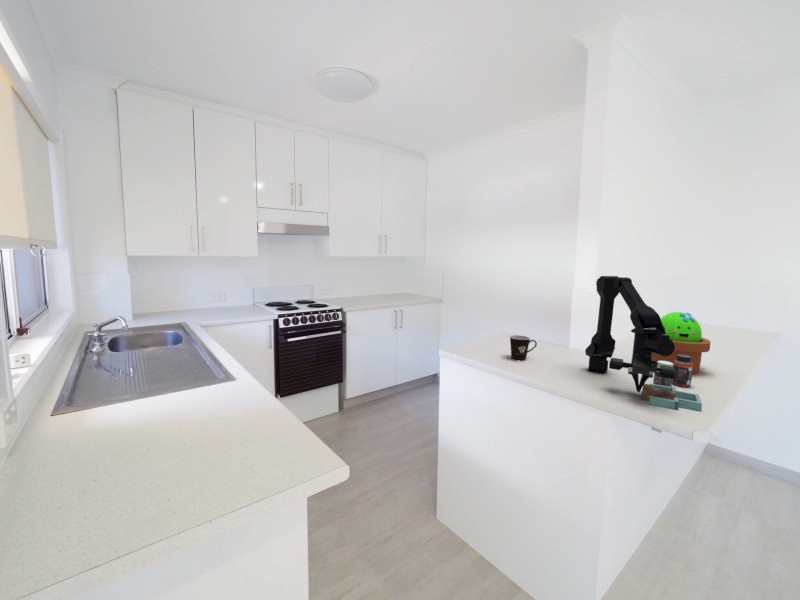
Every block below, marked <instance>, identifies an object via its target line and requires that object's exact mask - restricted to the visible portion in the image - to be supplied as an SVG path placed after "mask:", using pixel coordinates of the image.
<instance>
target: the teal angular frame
mask: <svg viewBox="0 0 800 600" xmlns="http://www.w3.org/2000/svg"><path fill="white" fill-rule="evenodd" d="M649 384H650V385H653V388H658V389H663V390H669V391H675V394H676V395H675V398H674V400H669V399H664V398H659V397H654V396H650V401H649V405H652V406H656V405H657V407H661V406H662V408H667V409H671V410H677V411H679V408H681V409H688V410H694V411H699V412H701V411H702V408H703V407H702V406H703V403H702V400H701V398H700V395H699V394H697V393H692V392H688V391H687V392H686V391H680V390H677V387H673V386H672V387H668V386H662V385H656V384H653V383H650V382H649Z"/></svg>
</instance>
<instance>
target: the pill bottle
mask: <svg viewBox="0 0 800 600" xmlns="http://www.w3.org/2000/svg"><path fill="white" fill-rule="evenodd" d="M660 365H664V366H670V367H673V363H671V362H668V361H658V366H657V367H658V368H660ZM672 383H673V379H669V378H663V377H662V376H661V375H660V373H654V374H653V382H652V384H656V385H662V386H668V387H673V384H672Z"/></svg>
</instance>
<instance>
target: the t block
mask: <svg viewBox="0 0 800 600" xmlns="http://www.w3.org/2000/svg"><path fill="white" fill-rule="evenodd" d="M641 390H642V391H641V400H642V401H646V402H647V401H648V402H650V396H654V397H659V398H664V399H669V400H674V398H675V395H676V394H675V391H669V390H663V389H658V388H653V385H650V383H644V385H643V387H642V389H641Z"/></svg>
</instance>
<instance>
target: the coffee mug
mask: <svg viewBox="0 0 800 600" xmlns="http://www.w3.org/2000/svg"><path fill="white" fill-rule="evenodd" d="M509 342H510V355H511V356H510V357H511V360H513V359H514V360H513V361H517V360H520V361H519V362H521V361H522V362H524V361H526V360H527V355H528V353H529V352H531V351H532V350H534V349H535V348H537V345H538V343H537V341H536V340H535V339H531V338H530V337H529V336H525V335H521V334H519V335H517V334H514V335H510V336H509ZM532 342H534V346H533V347H532V348H530V349H529V345H530V343H532ZM528 349H529V350H528ZM523 360H524V361H523Z"/></svg>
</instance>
